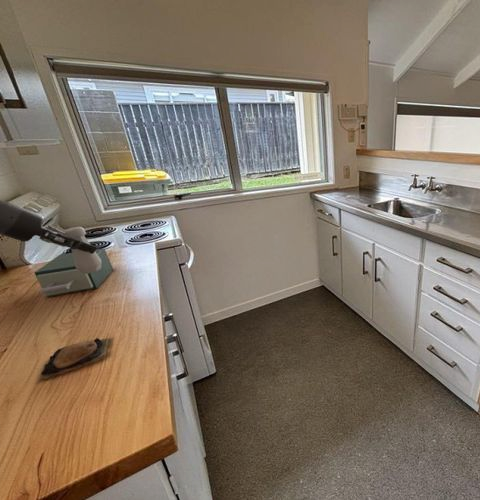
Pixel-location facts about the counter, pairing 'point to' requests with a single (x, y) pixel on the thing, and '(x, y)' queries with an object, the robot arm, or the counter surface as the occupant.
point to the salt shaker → (83, 253)
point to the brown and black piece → (75, 357)
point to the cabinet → (68, 263)
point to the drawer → (63, 282)
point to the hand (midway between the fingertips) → (92, 249)
